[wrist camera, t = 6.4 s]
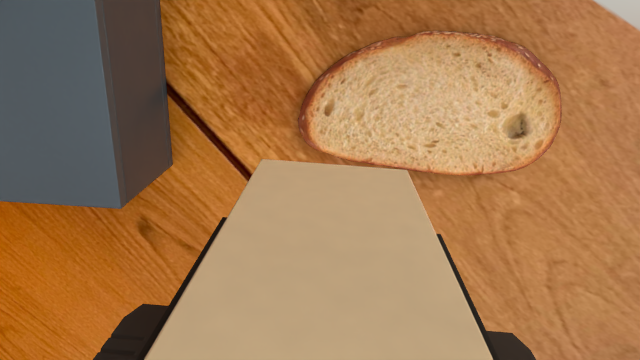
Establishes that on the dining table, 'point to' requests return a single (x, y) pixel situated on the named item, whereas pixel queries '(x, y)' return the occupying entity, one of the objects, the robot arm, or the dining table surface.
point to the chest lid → (57, 106)
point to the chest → (138, 90)
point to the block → (323, 275)
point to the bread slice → (435, 105)
